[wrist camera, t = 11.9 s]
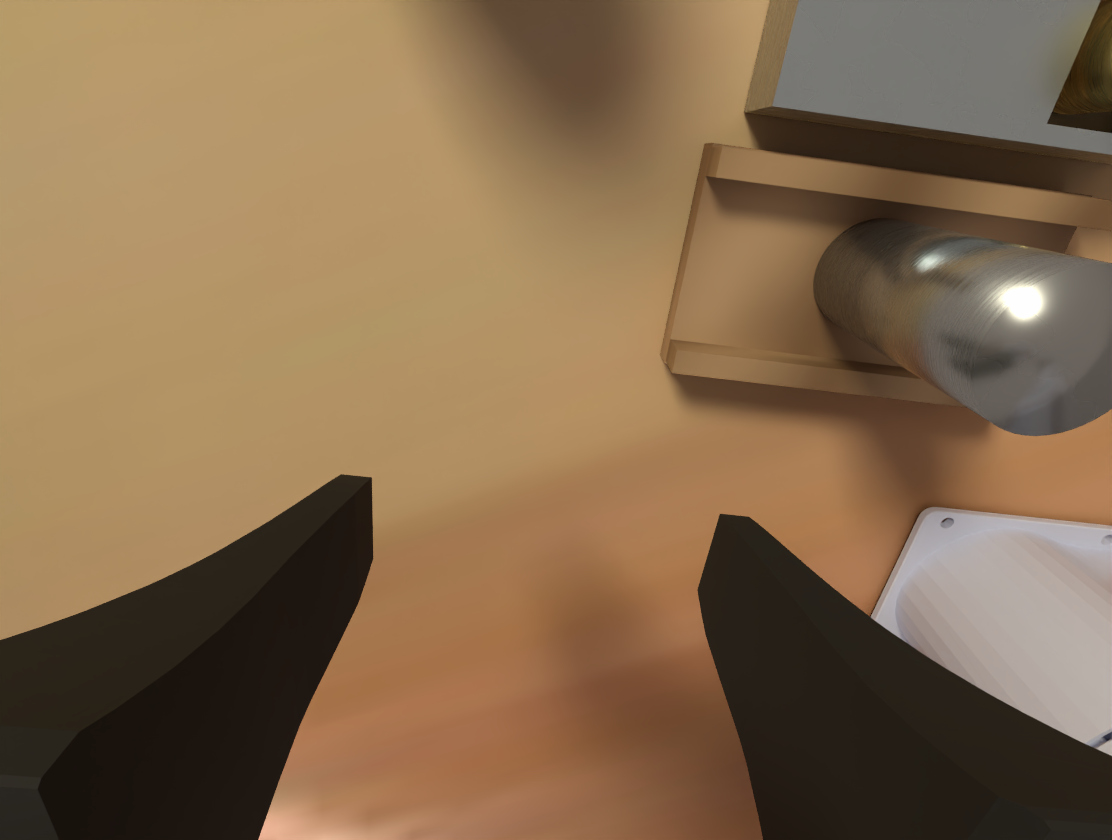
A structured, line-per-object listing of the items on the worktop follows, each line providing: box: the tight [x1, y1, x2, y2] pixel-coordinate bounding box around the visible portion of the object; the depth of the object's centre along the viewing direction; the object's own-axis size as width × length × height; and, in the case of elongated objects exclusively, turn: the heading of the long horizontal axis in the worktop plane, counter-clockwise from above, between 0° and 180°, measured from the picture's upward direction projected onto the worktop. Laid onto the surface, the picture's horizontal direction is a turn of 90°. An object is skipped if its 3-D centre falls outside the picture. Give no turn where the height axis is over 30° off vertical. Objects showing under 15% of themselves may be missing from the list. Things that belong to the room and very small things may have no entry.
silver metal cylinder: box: [813, 218, 1112, 436], centre depth 15 cm, size 4×4×8 cm
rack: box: [660, 143, 1112, 408], centre depth 19 cm, size 12×7×2 cm, turn 83°
